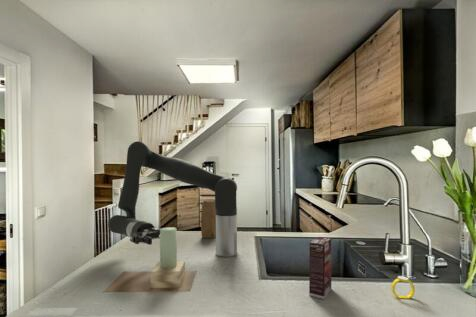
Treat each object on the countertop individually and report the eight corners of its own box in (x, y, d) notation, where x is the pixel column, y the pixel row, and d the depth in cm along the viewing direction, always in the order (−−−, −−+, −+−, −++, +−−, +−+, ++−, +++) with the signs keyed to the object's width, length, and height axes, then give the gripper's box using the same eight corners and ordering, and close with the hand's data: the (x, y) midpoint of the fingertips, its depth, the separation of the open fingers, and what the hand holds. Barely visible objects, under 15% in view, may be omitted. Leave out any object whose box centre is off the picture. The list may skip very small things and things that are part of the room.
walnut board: (196, 274, 101) (196, 271, 101) (189, 295, 85) (189, 291, 85) (123, 275, 101) (123, 271, 101) (103, 296, 85) (103, 291, 85)
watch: (410, 297, 84) (412, 277, 84) (415, 301, 81) (416, 280, 82) (389, 294, 85) (390, 274, 85) (393, 299, 82) (395, 278, 82)
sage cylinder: (177, 263, 95) (177, 227, 95) (175, 268, 90) (175, 231, 90) (162, 263, 95) (162, 227, 95) (158, 269, 90) (158, 231, 90)
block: (213, 239, 148) (213, 201, 149) (200, 238, 150) (199, 200, 150) (218, 234, 159) (218, 198, 159) (205, 233, 160) (205, 198, 161)
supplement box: (325, 300, 82) (324, 244, 82) (308, 295, 84) (308, 242, 85) (332, 288, 89) (332, 238, 90) (317, 285, 92) (316, 236, 92)
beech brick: (184, 276, 97) (184, 261, 97) (179, 287, 88) (179, 271, 88) (158, 276, 97) (158, 261, 97) (150, 287, 88) (150, 271, 88)
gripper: (121, 223, 101) (142, 231, 90) (157, 218, 112) (180, 224, 100) (121, 244, 101) (142, 255, 90) (157, 237, 111) (180, 245, 100)
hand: (162, 238), depth 95 cm, fingers open, 8 cm apart
